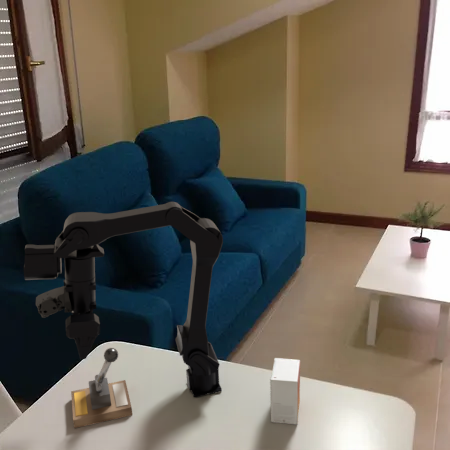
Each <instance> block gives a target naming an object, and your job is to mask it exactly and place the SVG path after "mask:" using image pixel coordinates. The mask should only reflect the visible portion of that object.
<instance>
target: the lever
mask: <svg viewBox="0 0 450 450" xmlns="http://www.w3.org/2000/svg"><path fill="white" fill-rule="evenodd" d="M103 358H104V362H103V364H102V367H101V368H100V371H99V374H96V375H94V380H95V384H96V391H97V393H101V392H102V385H101V384H102V383H103V380H104V378H106V375H107V373H108V371H109V369H110V367H111V364H112V363H115V362H116V360H118V358H119V352H118V350H117V349H116V348H114V347H109V348H107V349H106V350H105V351H104V353H103Z"/></svg>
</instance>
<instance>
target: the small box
mask: <svg viewBox="0 0 450 450" xmlns="http://www.w3.org/2000/svg"><path fill="white" fill-rule="evenodd" d="M272 366H273V367H272V373H271V376H270V379H269V380H270V381H269V385H270V387H269V388H270V389H269V390H270V391H269V393H270V394H269V395H270V401H269V402H270V422H271V423H277V424H288V425H298V423H299V421H298V420H299V411H300V402H301V360H300V359H291V358H282V357H274V359H273V365H272Z"/></svg>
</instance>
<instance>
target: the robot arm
mask: <svg viewBox="0 0 450 450" xmlns="http://www.w3.org/2000/svg"><path fill="white" fill-rule="evenodd" d="M169 226H170V227H172V228H174V229H176V230H177V231H178V232H180V233H181V234H182V235H183V236H184V237H186V238H187V239H189V242H190V244H189V245H190V249H191V251H190V252H191V258H192V267H191V275H190V276H191V278H190V287H189V295H188V304H187V315H186V319H185V322H184V324H183V325H181V324H180V325H179V324H177V325H176V328H177V330H176V331H177V335H176V337H175V338H174V339H175V343H176V346H177V350H178V353H179V356H181V358H182V361H183V363H184V364H185V365H187V366H188V367H187V368H186V370H185V372H186V384H187V387H188V389H189V392H191V394H192V395H193V398H199V397H203V396H207V395H212V394H215V393H221V392H222V389H223V388H222V386H221V385H220V375H219V374H220V372H219V367H220V362H219V359H218V358H217V354H216V352H215V350H214V347H213V345H212V343H211V342H209V341H208V334H207V333H208V332H207V328H206V327H207V318H208V309H209V300H210V294H211V293H210V292H211V283H212V277H213V275H212V274H213V268H214V265H215V264H216V262H217V260H218V258H219V256H220V254H221V250H222V247H223V243H224V237H223V234H222V232H221V231H220V230H219V228H218V227H217V225H216V224H215V223H214V221H213V220H211V219H210V218H205V217H199V216H198V215H197V214H195V213H193V212H191V211H190V210H188V209H186V208H184V207H183V206H181V205H180V204H179V202H175V201H168V202H166V203H164V204H157V205H152V206H146V207H141V208H140V207H139V208H135V209H129V210H123V211H117V212H112V213H104V212H103V213H102V212H96V211H85V212H84V211H81V212H78V211H77V212H73V213H71V214H69V215H68V217H67V218H66V219H65V221H64V223H63V230H62V231H61V233H60V234H59V235H58V236H57V237H56V239H55V241H54V242H55V243H54V244H39V245H37V244H26V245H25V247H24V265H23V278H24V280H25V281H31V280H32V281H33V280H37V281H38V280H55V279H57V278H58V276H59V274H62V259H64V278H65V279H63V286H61V287H60V286H59V287H56V288H53V289H50V290H47V291H45V292H43V293H41V294H38V295H37V296H36V297H35V306H36V307H37V311H38V314H39V315H40V316H41V318H43V319H45V318H48V317H50V315H51V316H52V315H54V314H56V313H58V312H60V311H63V310H64V313H71V314H70V315H69V316H67V318H66V319H65V332H66V333H65V337H66V338H69V339H73V340H74V342H75V344H76V348H77V352H78V355H79V359H80V360H86V359H87V357H88V355H89V352H90V351H91V349H92V346H93V345H94V342H95V340H96V339H97V337H98V336H99V335H100V334H101V325H100V324H101V322H100V317H99V316H98V315H97V314H96V313H93V312H94V310H97V302H96V291H97V284H96V272H95V271H96V263H95V262H96V261H95V260H96V259H95V258H102V257H104V256H105V251H104V248H103V247H101V246H100V244H101V243H103V242H105V241H107V239H110V238H113V237H115V236H116V237H117V236H123V235H128V234H132V233H133V234H134V233H138V232H144V231H148V230H149V231H150V230H153V229H160V228H165V227H169Z"/></svg>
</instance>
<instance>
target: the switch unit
mask: <svg viewBox="0 0 450 450" xmlns="http://www.w3.org/2000/svg"><path fill="white" fill-rule="evenodd" d="M101 385H102V392H101V393H97V391H96V384H95V379H93V380H89V381H88V387H86V388H81V389H77V390H73V391H70V392H71V394H70V395H71V406H72V407H71V408H72V409H71V410H72V421H73V427H74V429H77V428H82V427H86V426H91V425H94V424H95V425H96V424H98V423H104V422H107V421H112V420H116V419H120V418H121V419H122V418H125V417H129V416H133V408H132V404H131V403H132V402H131V399H130V394H129V391H128V390H129V389H128V385H127V382H126V379H123V380H119V381H114V382H110V383H109V382H108V377H105V378H104V380H103V383H102V384H101Z"/></svg>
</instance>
